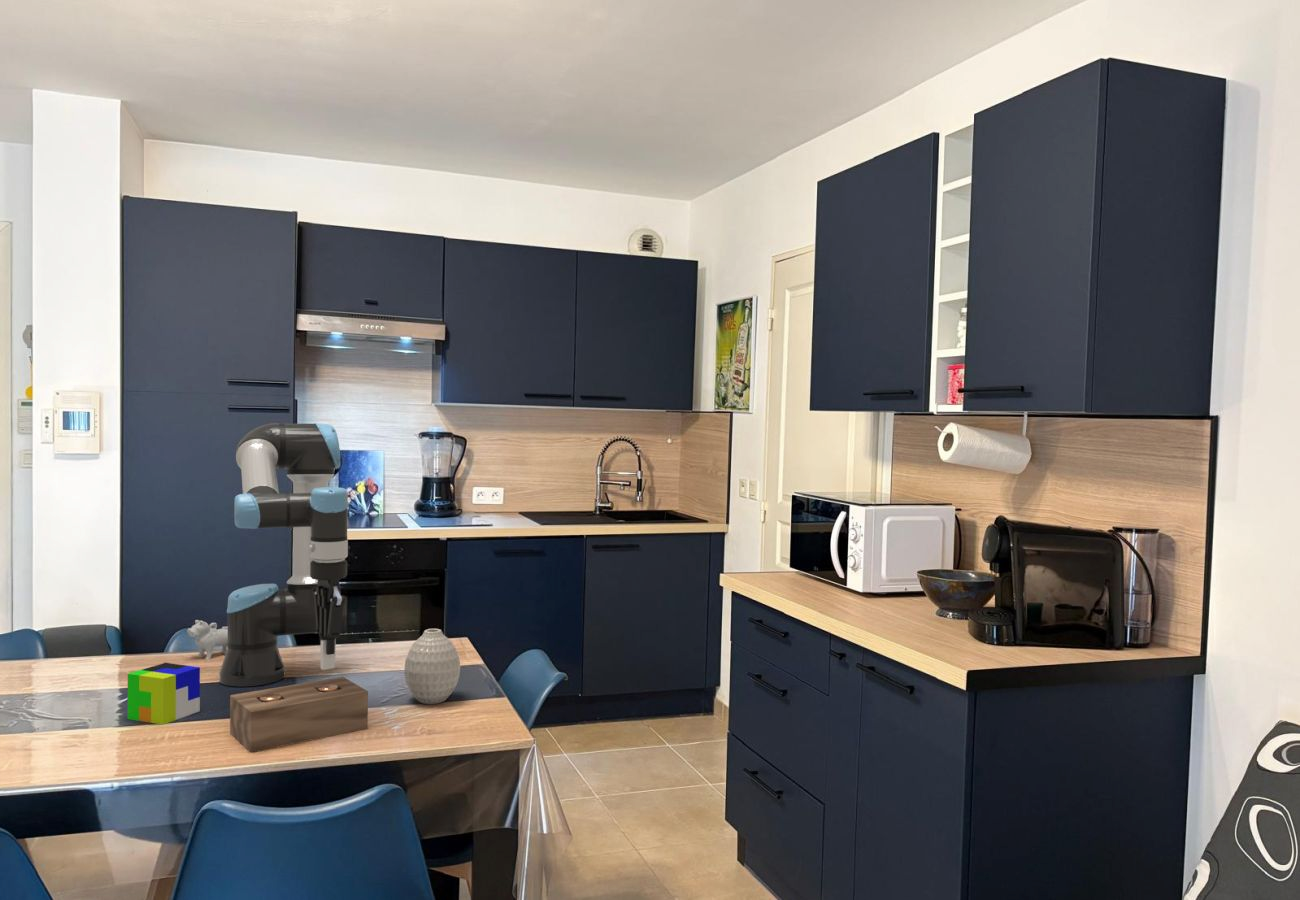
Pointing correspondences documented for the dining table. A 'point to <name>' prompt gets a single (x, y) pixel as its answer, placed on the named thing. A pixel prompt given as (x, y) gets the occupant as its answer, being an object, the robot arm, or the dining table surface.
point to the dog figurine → (208, 637)
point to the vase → (432, 667)
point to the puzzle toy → (163, 693)
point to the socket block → (297, 713)
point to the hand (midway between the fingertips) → (327, 667)
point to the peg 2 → (327, 688)
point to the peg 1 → (270, 698)
